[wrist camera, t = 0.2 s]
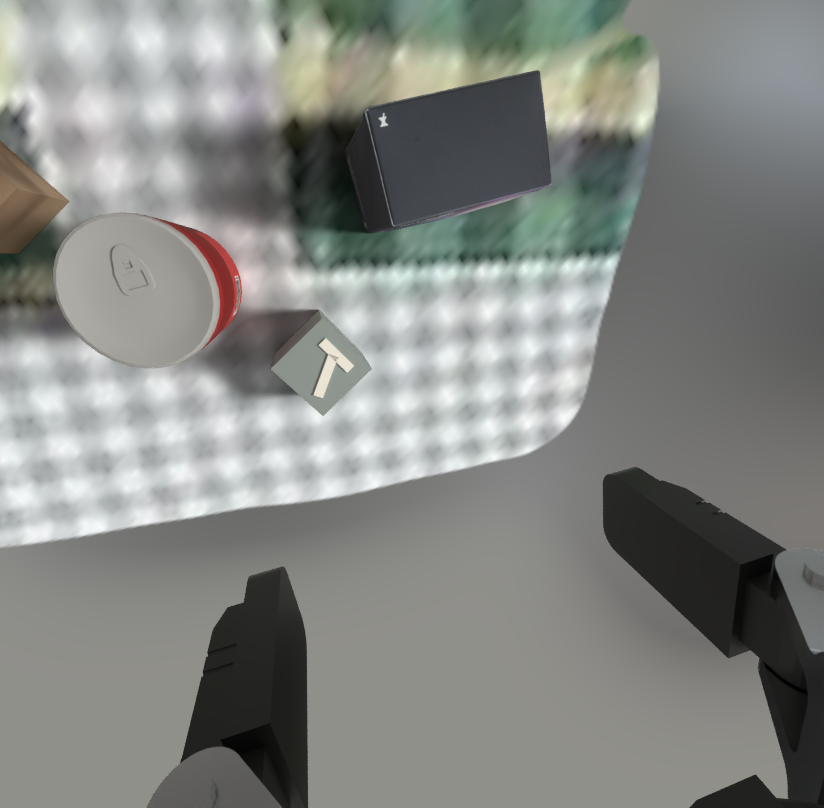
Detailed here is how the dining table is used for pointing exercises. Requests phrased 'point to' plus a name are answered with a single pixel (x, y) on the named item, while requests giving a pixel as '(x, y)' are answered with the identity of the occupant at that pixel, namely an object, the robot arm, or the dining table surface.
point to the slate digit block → (320, 363)
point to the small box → (449, 152)
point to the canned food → (145, 288)
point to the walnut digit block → (23, 202)
